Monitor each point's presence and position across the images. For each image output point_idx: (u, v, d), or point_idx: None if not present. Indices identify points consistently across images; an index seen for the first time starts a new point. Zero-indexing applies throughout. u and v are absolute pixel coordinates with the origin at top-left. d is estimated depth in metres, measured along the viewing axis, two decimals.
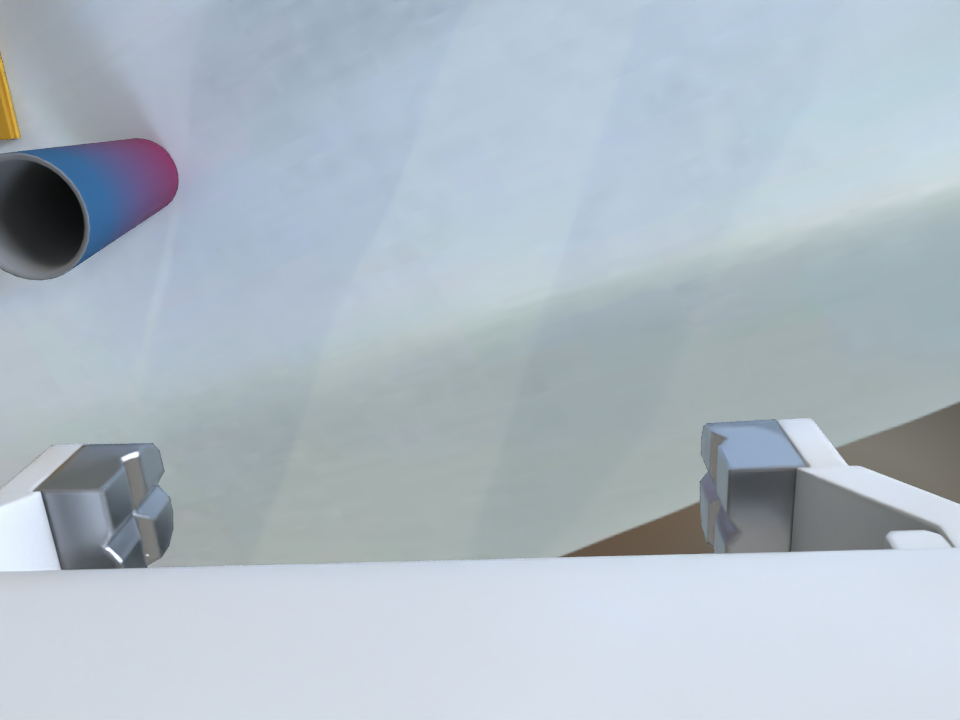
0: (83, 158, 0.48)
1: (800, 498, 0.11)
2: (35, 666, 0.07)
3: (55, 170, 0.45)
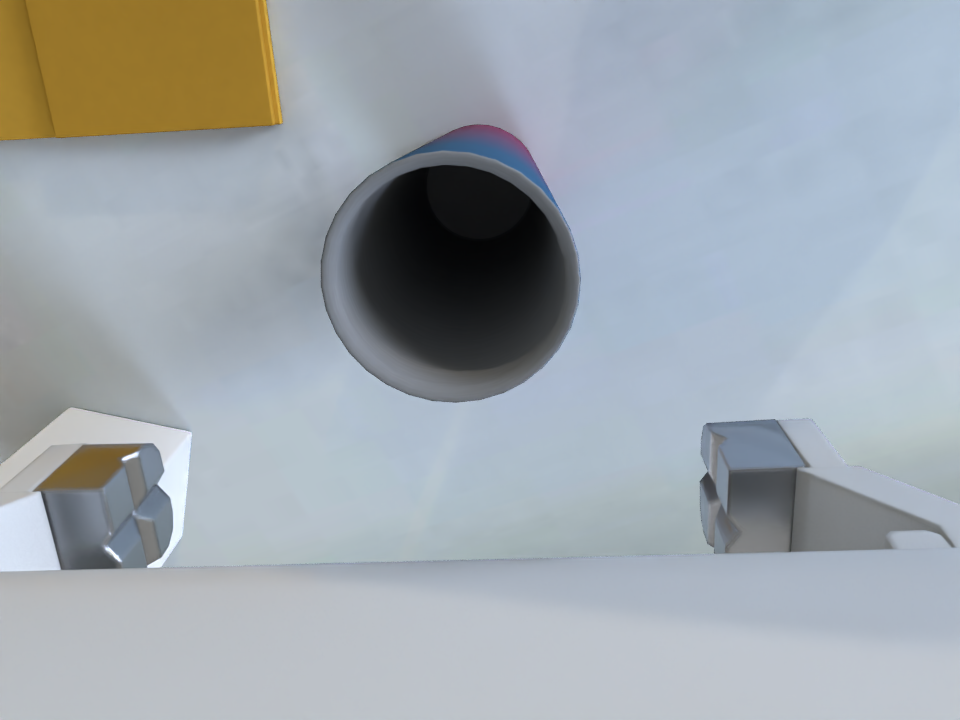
0: (521, 162, 0.25)
1: (800, 498, 0.11)
2: (35, 666, 0.07)
3: (528, 188, 0.22)
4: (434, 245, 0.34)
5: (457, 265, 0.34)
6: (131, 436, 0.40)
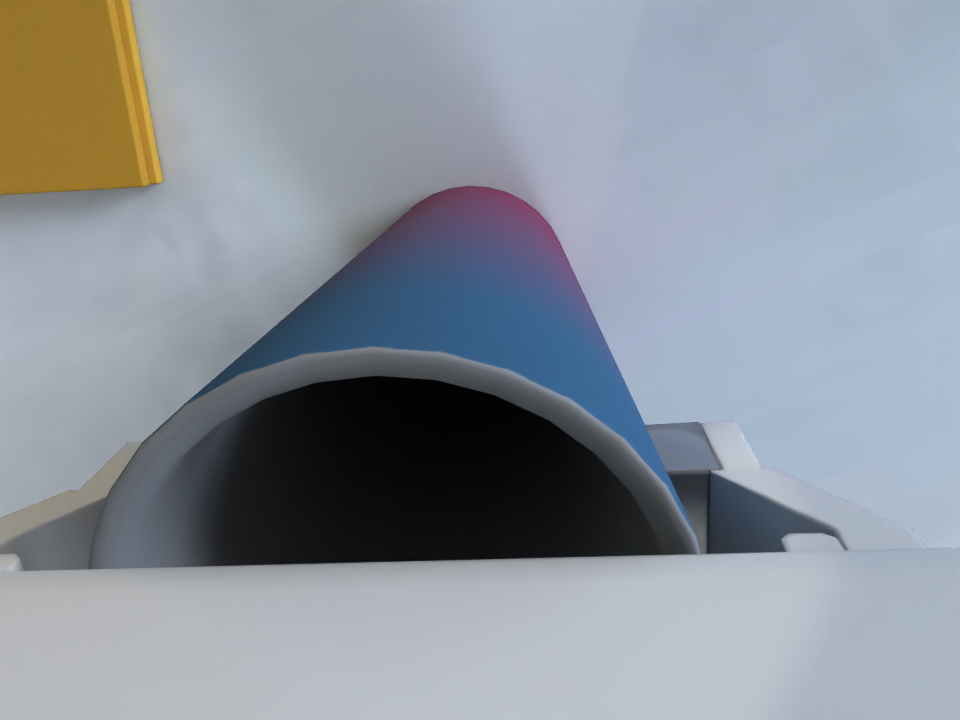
0: (558, 314, 0.12)
1: (714, 501, 0.11)
2: (35, 666, 0.07)
3: (593, 438, 0.08)
4: (399, 385, 0.21)
5: (436, 425, 0.20)
6: None
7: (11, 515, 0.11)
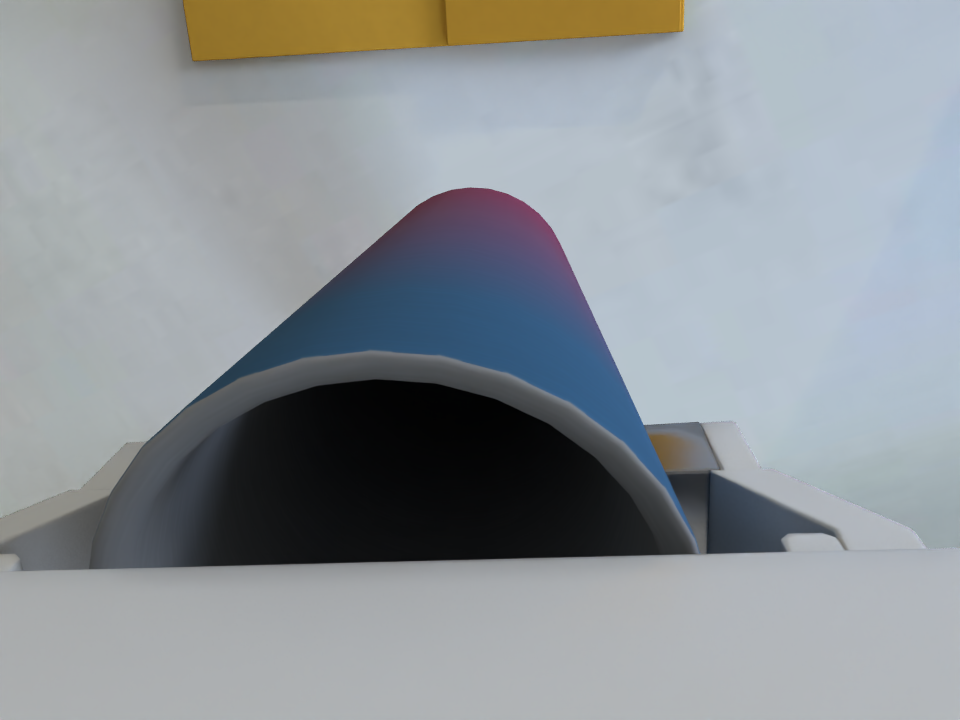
0: (559, 317, 0.12)
1: (714, 501, 0.11)
2: (35, 666, 0.07)
3: (593, 442, 0.08)
4: (400, 387, 0.21)
5: (436, 426, 0.20)
6: None
7: (11, 515, 0.11)
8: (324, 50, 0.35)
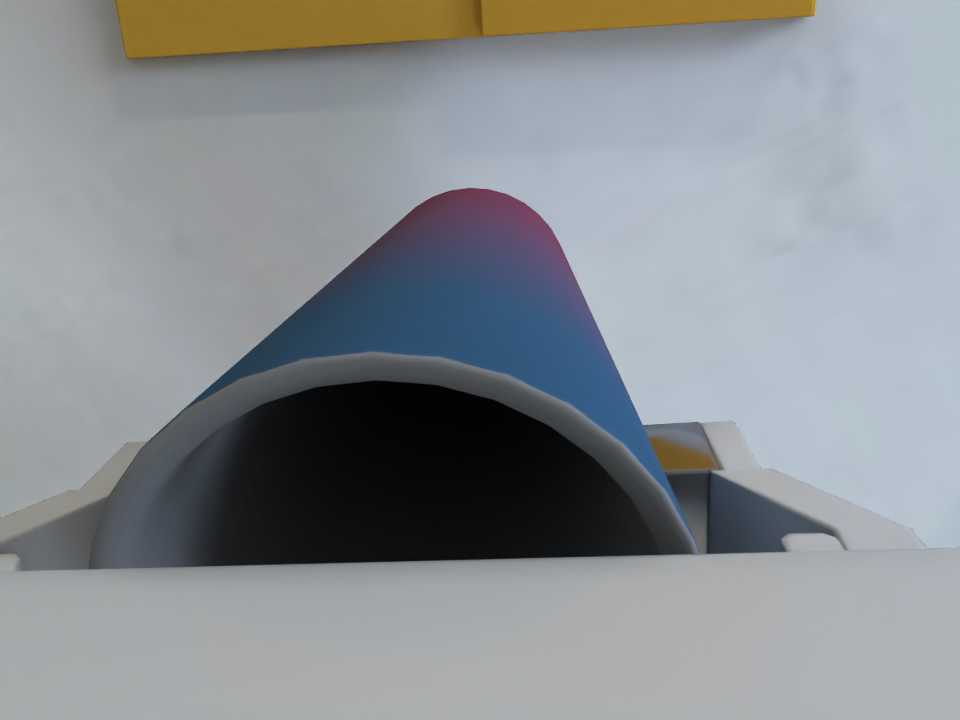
0: (558, 318, 0.12)
1: (714, 501, 0.11)
2: (35, 666, 0.07)
3: (592, 442, 0.08)
4: (399, 387, 0.21)
5: (436, 426, 0.20)
6: None
7: (11, 515, 0.11)
8: (309, 43, 0.25)
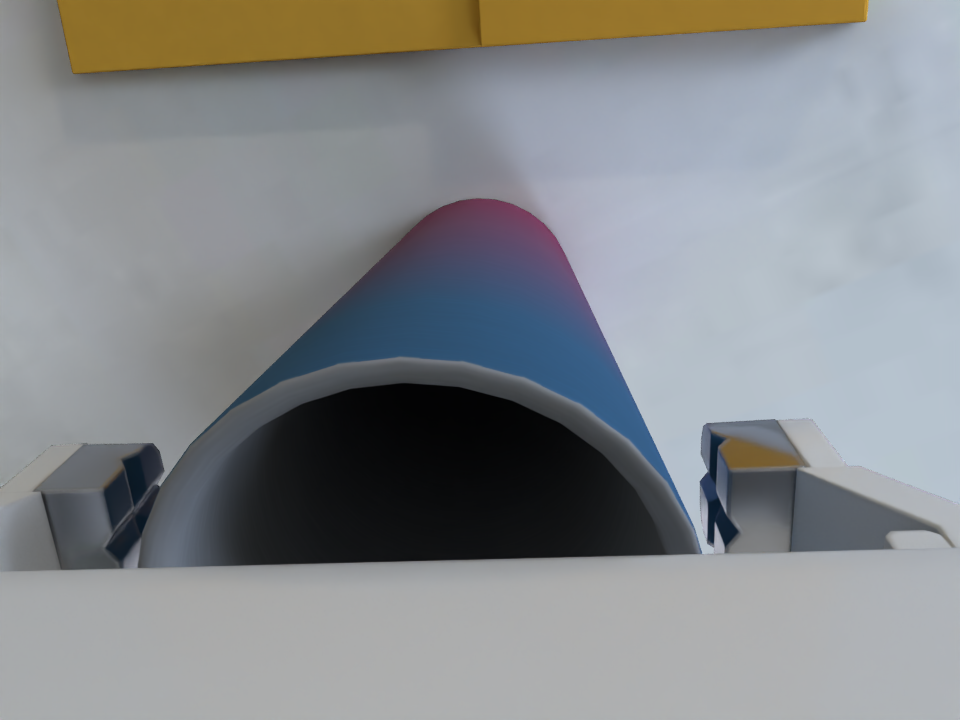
0: (566, 325, 0.13)
1: (800, 498, 0.11)
2: (35, 666, 0.07)
3: (601, 439, 0.09)
4: (411, 390, 0.22)
5: (446, 428, 0.21)
6: None
7: None
8: (282, 55, 0.22)
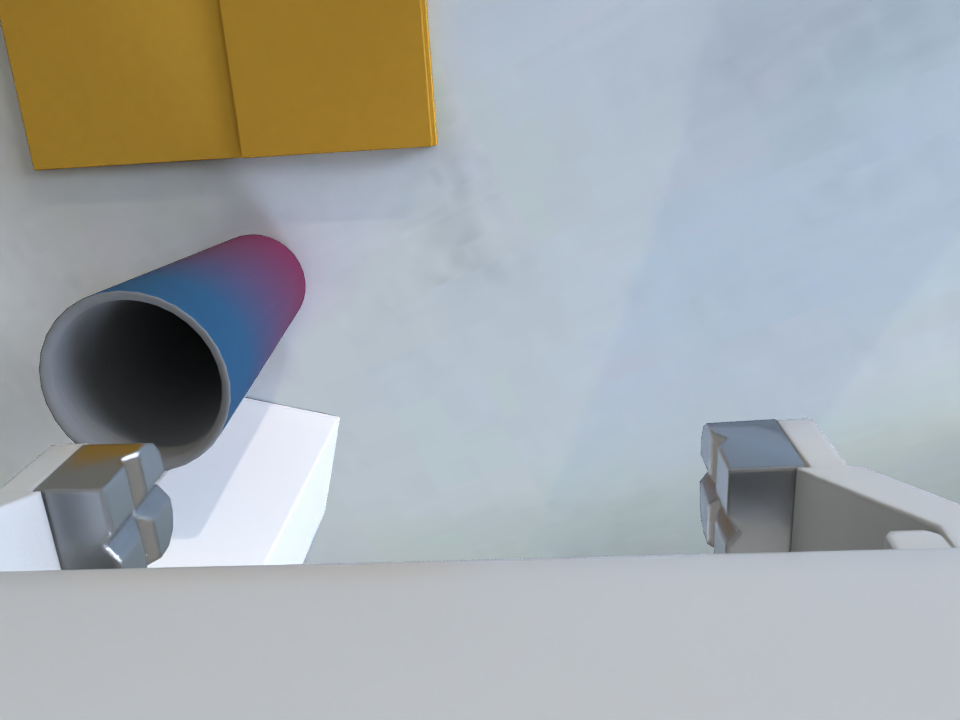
0: (211, 287, 0.33)
1: (800, 498, 0.11)
2: (35, 666, 0.07)
3: (183, 317, 0.30)
4: None
5: None
6: (291, 419, 0.45)
7: None
8: (142, 161, 0.43)
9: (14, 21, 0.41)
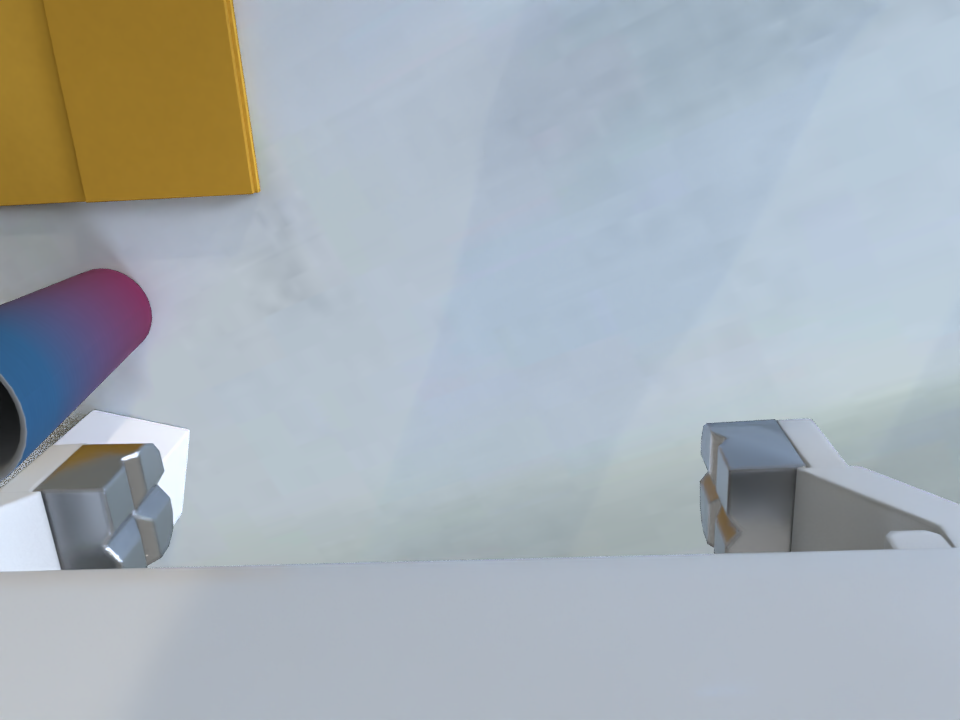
0: (23, 331, 0.38)
1: (800, 498, 0.11)
2: (35, 666, 0.07)
3: None
4: None
5: None
6: (142, 432, 0.51)
7: None
8: None
9: None
